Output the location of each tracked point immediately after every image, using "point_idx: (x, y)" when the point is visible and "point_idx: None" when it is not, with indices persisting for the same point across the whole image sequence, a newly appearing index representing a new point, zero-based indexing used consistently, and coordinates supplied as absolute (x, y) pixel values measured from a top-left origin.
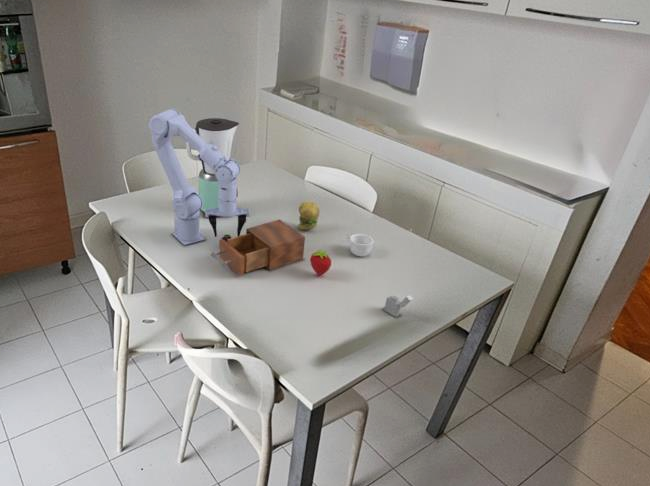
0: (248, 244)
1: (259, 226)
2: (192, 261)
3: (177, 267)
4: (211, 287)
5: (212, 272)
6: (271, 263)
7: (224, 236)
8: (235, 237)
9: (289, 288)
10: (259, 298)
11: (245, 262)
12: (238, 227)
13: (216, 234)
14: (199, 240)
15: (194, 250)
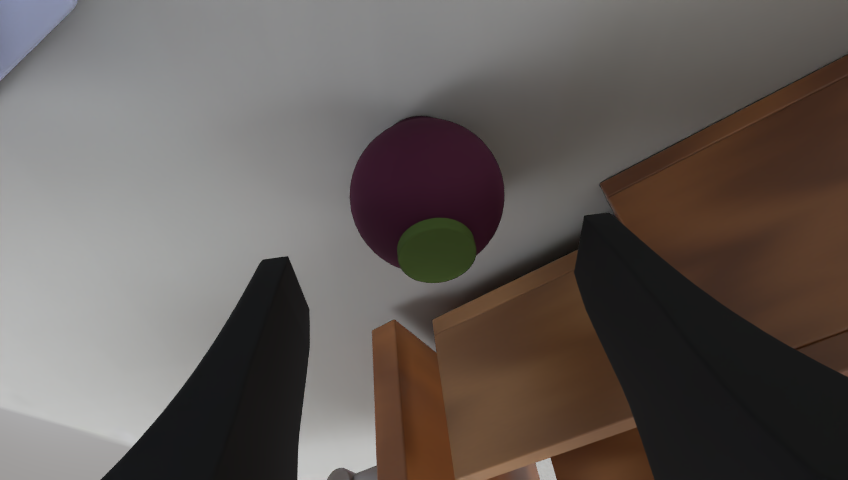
0: None
1: None
2: (169, 346)
3: (102, 400)
4: (361, 466)
5: (345, 402)
6: None
7: (404, 270)
8: (541, 454)
9: None
10: None
11: (557, 477)
12: (634, 388)
13: (305, 349)
14: (27, 51)
15: (95, 224)
